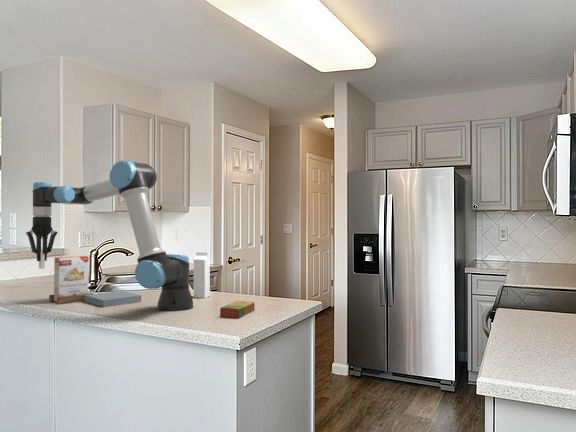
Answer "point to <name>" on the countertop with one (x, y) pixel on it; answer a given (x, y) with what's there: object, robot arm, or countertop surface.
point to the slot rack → (68, 298)
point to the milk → (201, 275)
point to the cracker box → (70, 276)
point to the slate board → (112, 298)
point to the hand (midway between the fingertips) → (41, 268)
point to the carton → (237, 309)
